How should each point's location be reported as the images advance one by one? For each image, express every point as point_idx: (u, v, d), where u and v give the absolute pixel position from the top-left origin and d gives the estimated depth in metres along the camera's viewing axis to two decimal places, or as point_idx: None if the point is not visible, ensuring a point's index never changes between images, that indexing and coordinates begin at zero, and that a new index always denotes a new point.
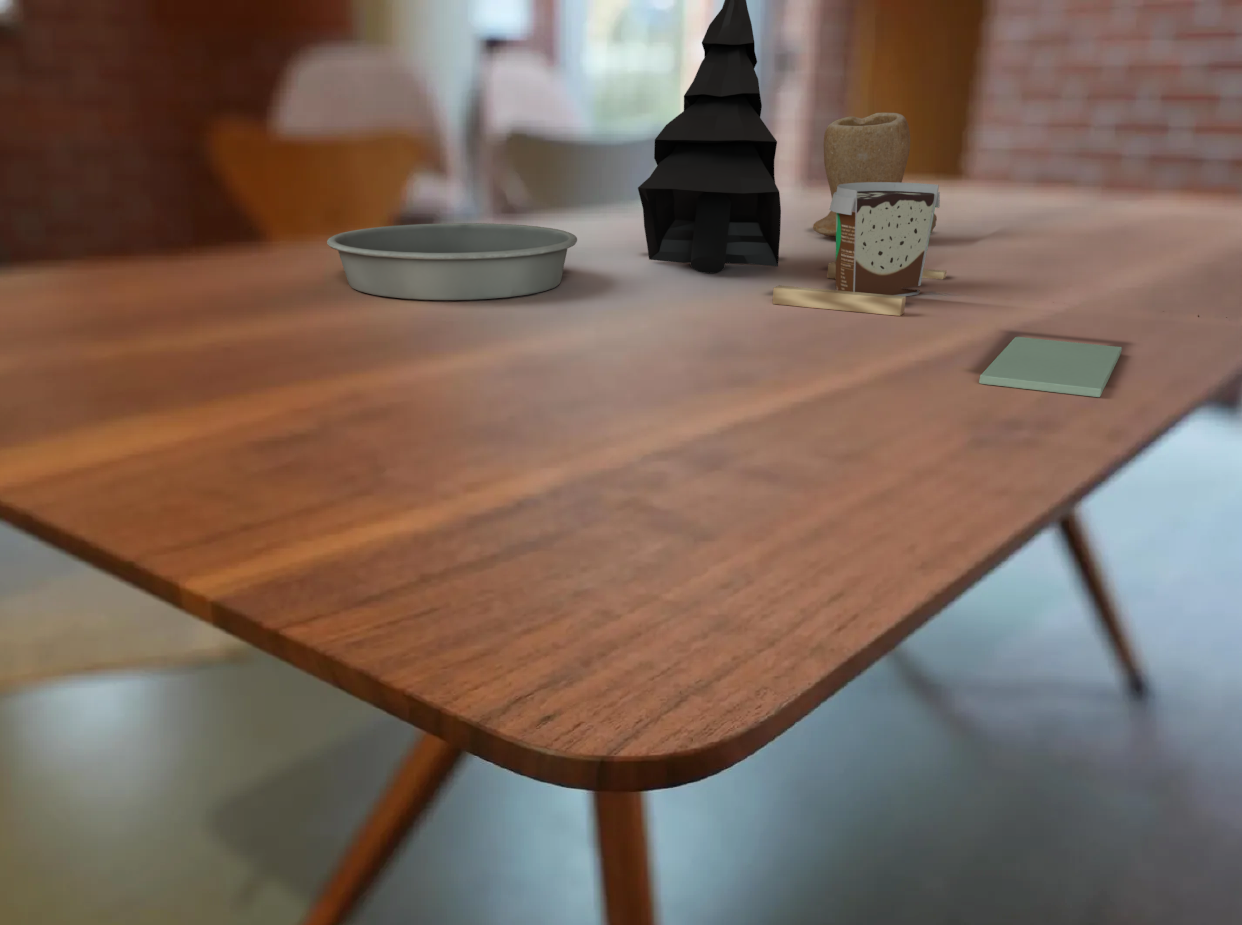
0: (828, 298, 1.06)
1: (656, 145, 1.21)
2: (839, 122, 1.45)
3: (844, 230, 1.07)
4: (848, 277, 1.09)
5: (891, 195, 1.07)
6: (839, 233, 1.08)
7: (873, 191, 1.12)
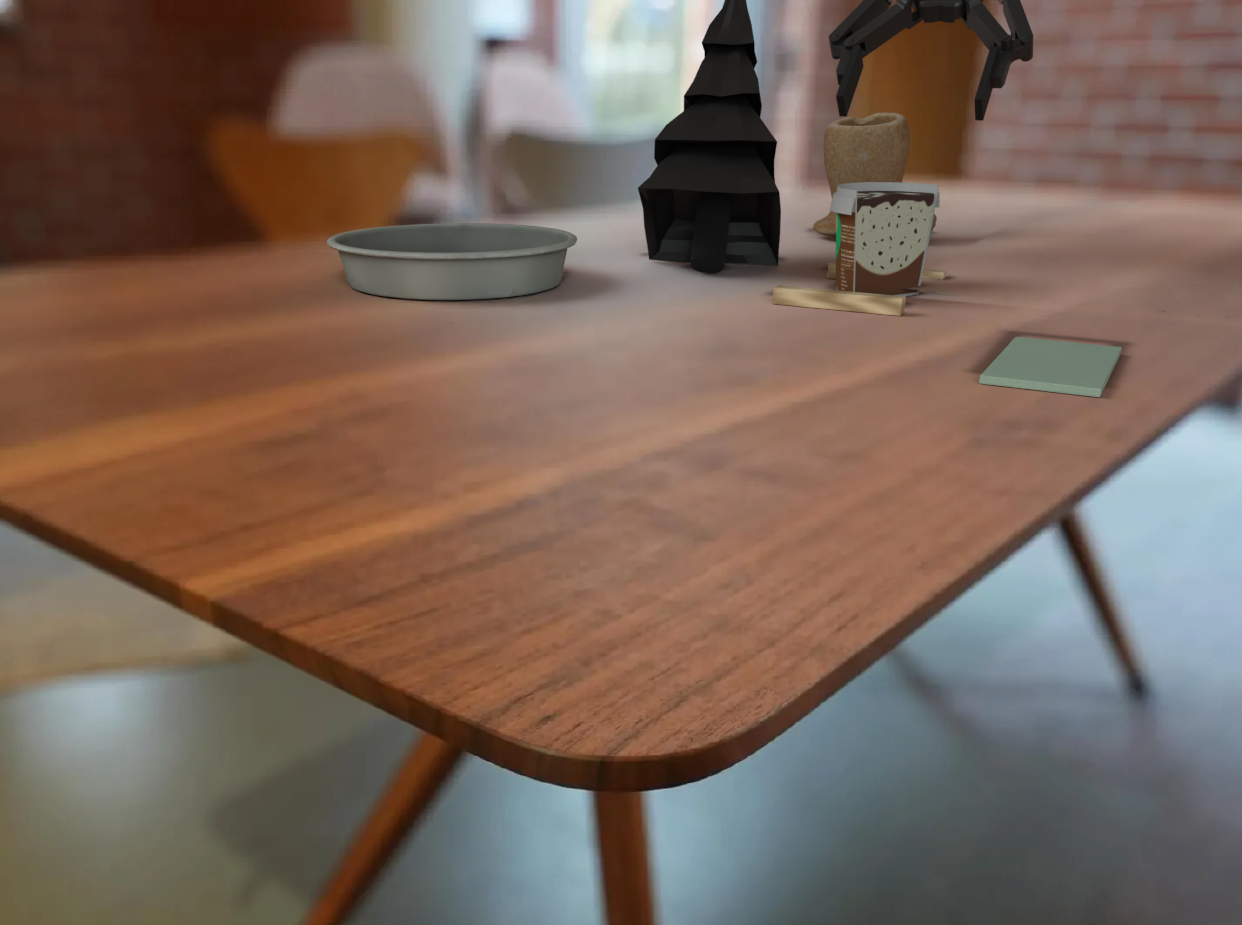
0: (828, 298, 1.06)
1: (656, 145, 1.21)
2: (839, 122, 1.45)
3: (844, 230, 1.07)
4: (848, 277, 1.09)
5: (891, 195, 1.07)
6: (839, 233, 1.08)
7: (873, 191, 1.12)
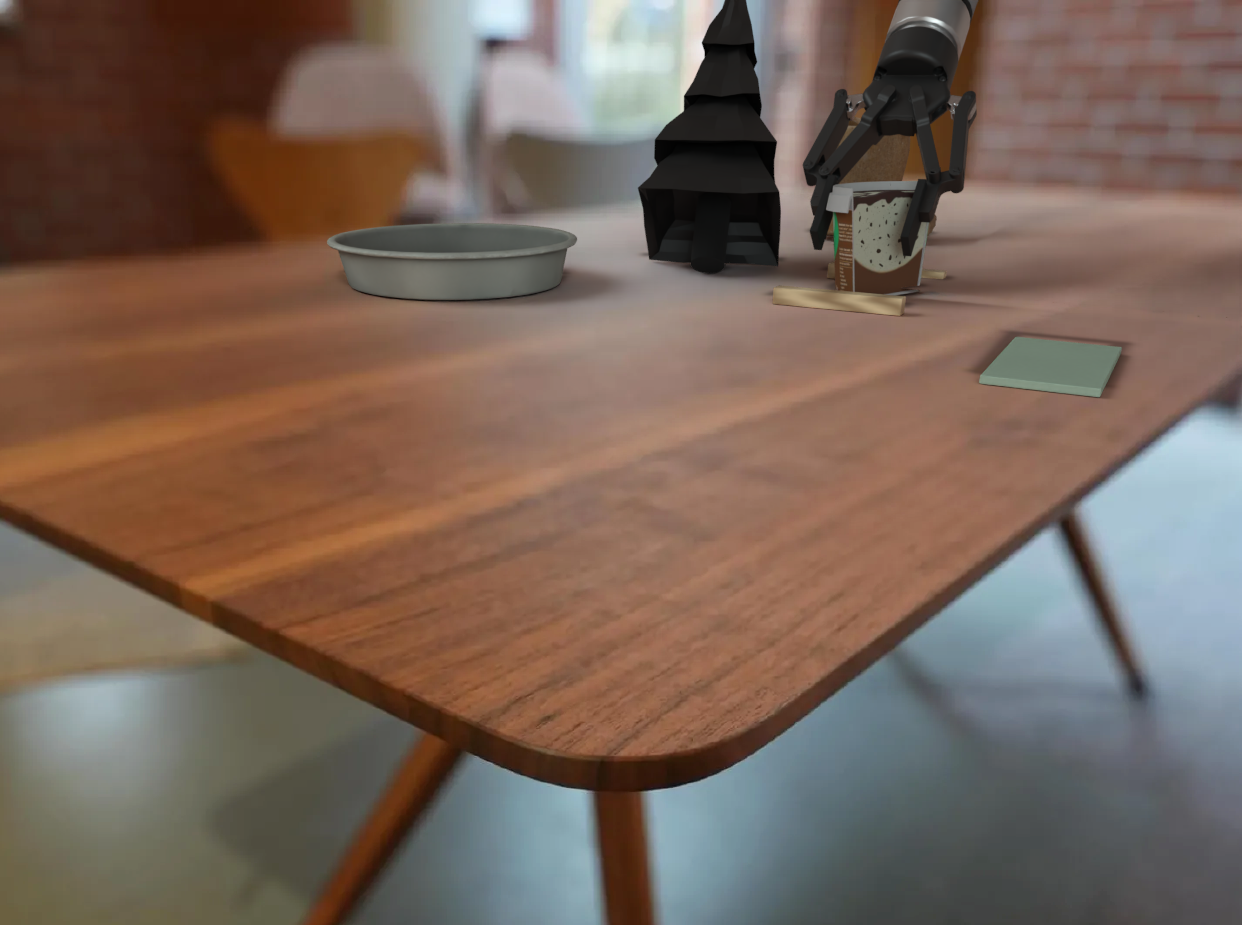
0: (828, 298, 1.06)
1: (656, 145, 1.21)
2: None
3: (842, 229, 1.07)
4: (848, 275, 1.09)
5: (887, 193, 1.08)
6: (837, 232, 1.09)
7: (869, 191, 1.12)
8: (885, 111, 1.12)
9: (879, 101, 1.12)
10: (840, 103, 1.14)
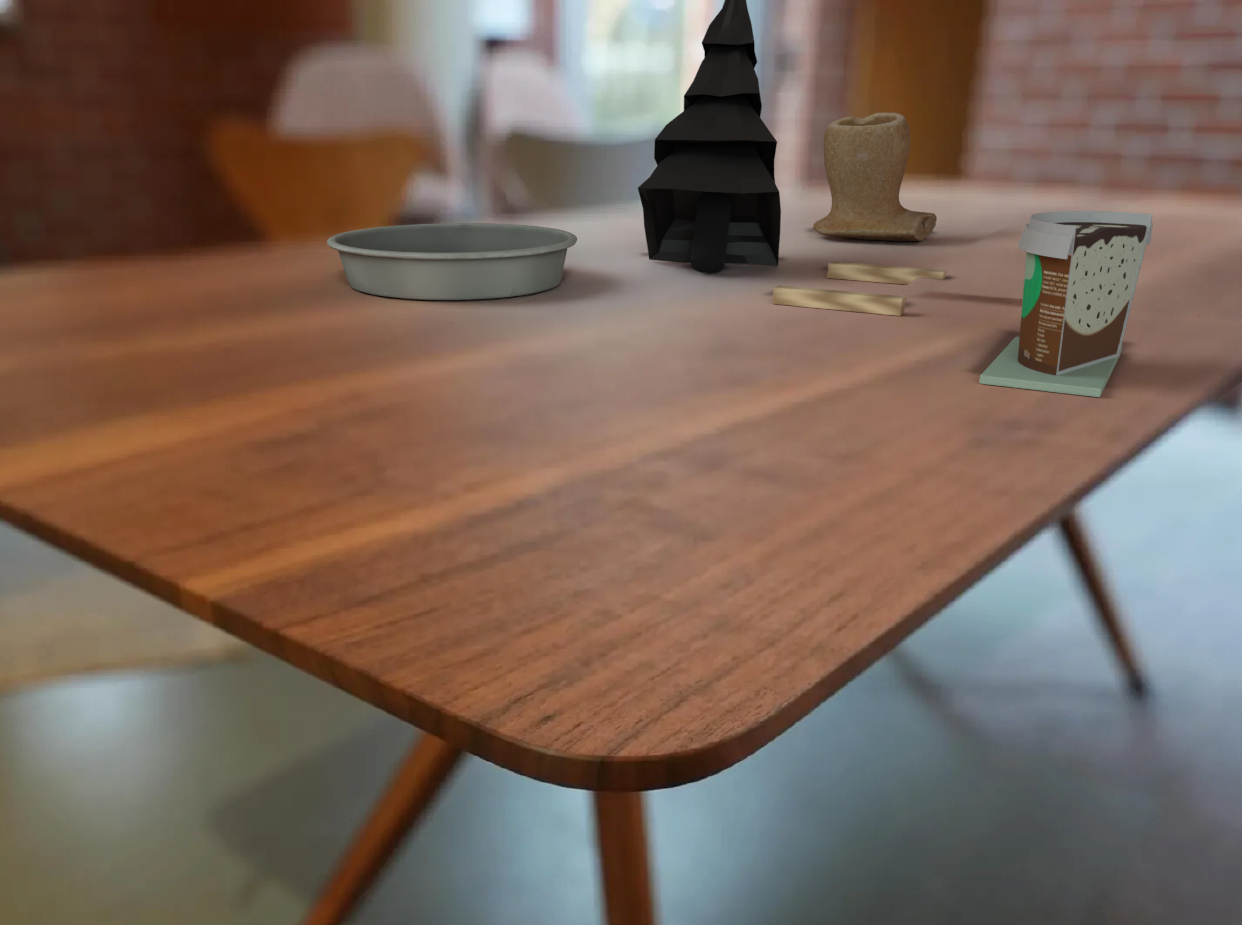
0: (828, 298, 1.06)
1: (656, 145, 1.21)
2: (839, 122, 1.45)
3: (1049, 279, 0.80)
4: (1052, 340, 0.81)
5: (1106, 230, 0.80)
6: (1038, 282, 0.81)
7: (1063, 223, 0.85)
8: None
9: None
10: None
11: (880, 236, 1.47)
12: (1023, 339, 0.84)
